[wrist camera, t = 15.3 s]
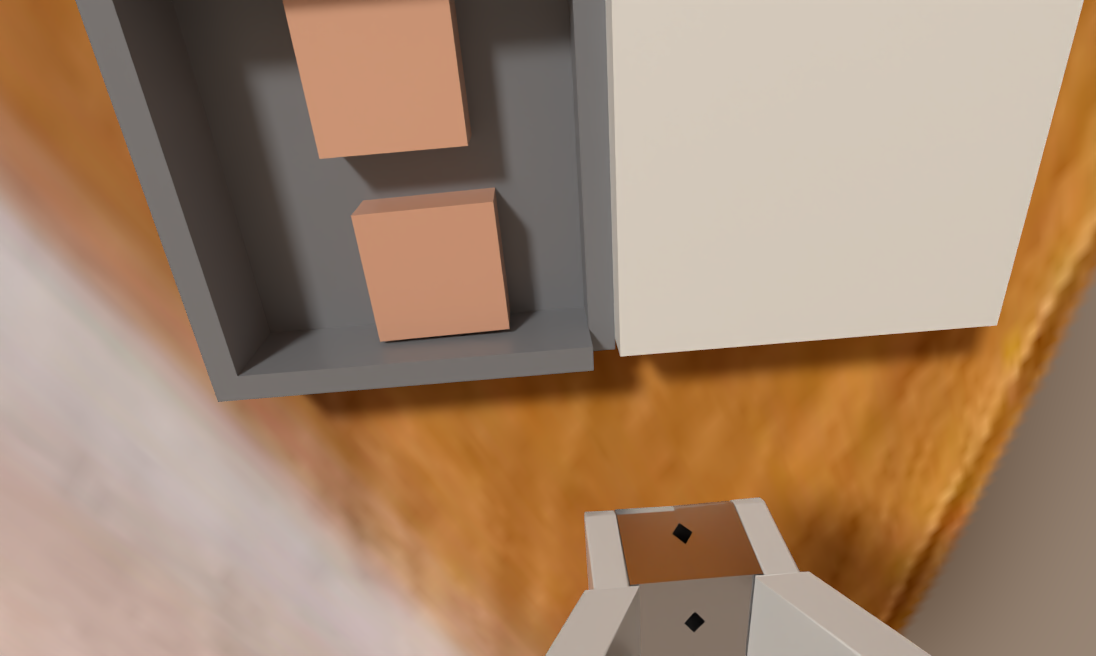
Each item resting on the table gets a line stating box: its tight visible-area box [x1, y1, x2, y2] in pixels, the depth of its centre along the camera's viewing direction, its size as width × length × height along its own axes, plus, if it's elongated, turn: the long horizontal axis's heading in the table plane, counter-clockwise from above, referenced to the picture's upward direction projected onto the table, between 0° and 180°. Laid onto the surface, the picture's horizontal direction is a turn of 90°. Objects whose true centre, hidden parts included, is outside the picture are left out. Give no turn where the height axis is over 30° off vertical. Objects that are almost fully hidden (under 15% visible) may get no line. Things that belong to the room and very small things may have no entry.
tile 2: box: [351, 188, 510, 342], centre depth 25 cm, size 5×5×2 cm
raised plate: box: [605, 0, 1084, 357], centre depth 23 cm, size 14×14×4 cm
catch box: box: [75, 0, 615, 402], centre depth 22 cm, size 15×15×4 cm
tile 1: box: [283, 0, 472, 159], centre depth 21 cm, size 5×5×2 cm
